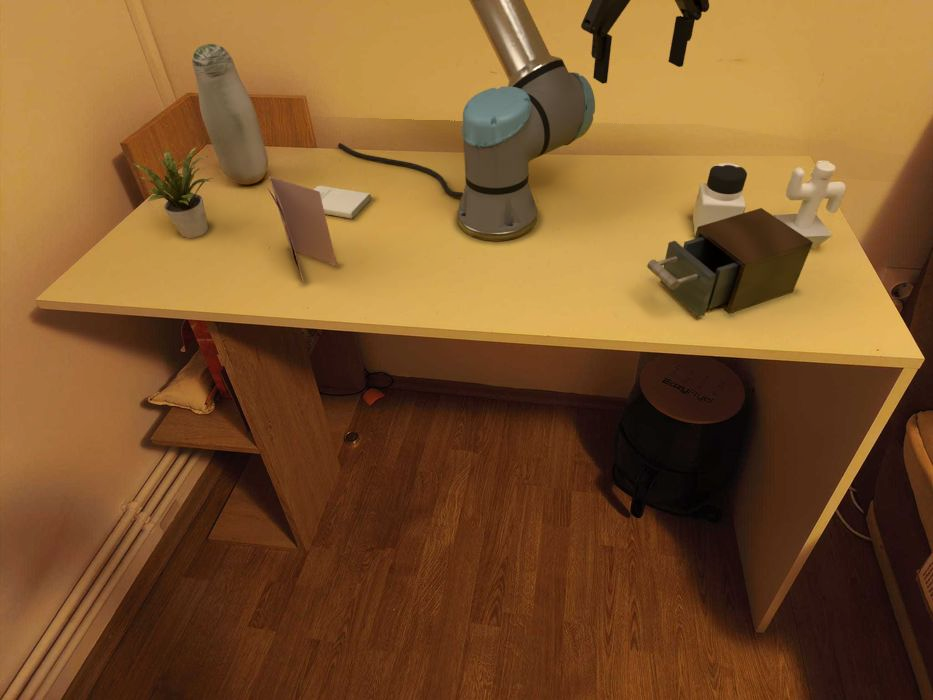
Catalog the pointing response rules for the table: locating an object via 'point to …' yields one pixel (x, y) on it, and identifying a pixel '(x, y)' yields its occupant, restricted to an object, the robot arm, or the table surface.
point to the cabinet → (759, 255)
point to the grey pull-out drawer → (697, 274)
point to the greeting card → (303, 221)
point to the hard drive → (342, 201)
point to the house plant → (180, 195)
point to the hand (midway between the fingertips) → (638, 72)
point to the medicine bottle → (720, 195)
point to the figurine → (813, 201)
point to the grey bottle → (229, 116)
